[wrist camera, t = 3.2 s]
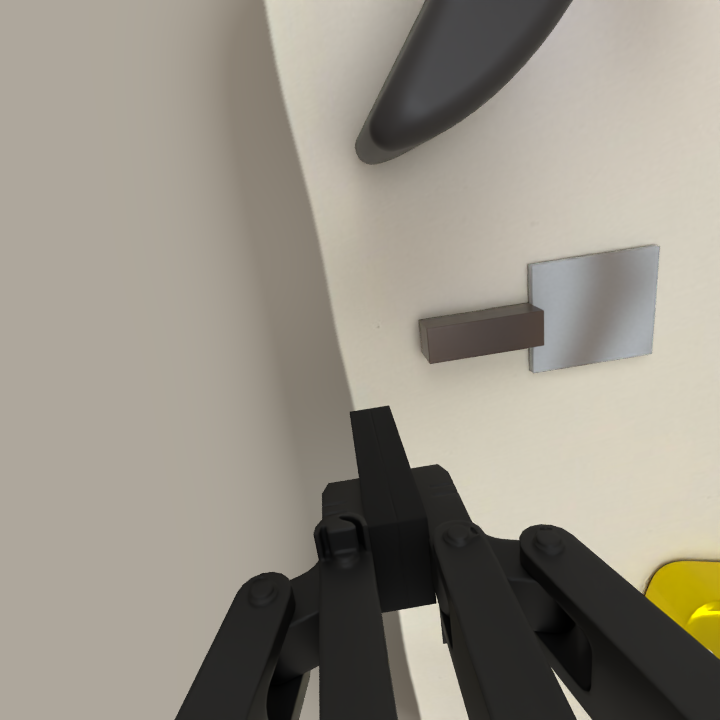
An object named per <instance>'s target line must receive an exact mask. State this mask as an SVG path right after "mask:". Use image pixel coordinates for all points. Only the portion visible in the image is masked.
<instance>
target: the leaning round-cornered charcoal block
mask: <svg viewBox="0 0 720 720" xmlns="http://www.w3.org/2000/svg"><path fill="white" fill-rule="evenodd" d="M572 1H573V0H426V1H425V3H424V5H423V7H422V9H421V11H420V13H419V15H418V17H417V19H416V21H415V23H414V25H413V27H412V29H411V31H410V33H409V35H408V37H407V39H406V41H405V43H404V45H403V47H402V49H401V51H400V53H399V55H398V57H397V59H396V61H395V63H394V65H393V67H392V69H391V71H390V73H389V75H388V77H387V79H386V81H385V83H384V85H383V87H382V89H381V91H380V93H379V95H378V97H377V99H376V101H375V103H374V105H373V107H372V109H371V111H370V113H369V115H368V117H367V119H366V121H365V123H364V125H363V127H362V129H361V131H360V133H359V135H358V137H357V140H356V144H355V149H356V153H357V155H358V157H359V158H360V160H362V161H363V162H364V163H366V164H378V163H382V162H385V161H388V160H391V159H393V158H396V157H398V156H400V155H402V154H404V153H406V152H408V151H409V150H411V149H413V148H415V147H417V146H419V145H420V144H422V143H424V142H426V141H428V140H429V139H431V138H433V137H435V136H437V135H439V134H440V133H442V132H444V131H446V130H447V129H449V128H451V127H452V126H454V125H456V124H457V123H459V122H460V121H462V120H463V119H465V118H466V117H467V116H469V115H470V114H471V113H473V112H474V111H476V110H477V109H478V108H479V107H481V106H482V105H483V104H484V103H486V102H487V101H488V100H489V99H490V98H492V97H493V96H494V95H495V94H496V93H497V92H498V91H499V90H500V89H501V88H502V87H504V86H505V85H506V84H507V83H508V82H509V81H510V80H511V79H512V78H513V76H514V75H515V74H516V73H517V72H518V71H519V70H520V69H521V68H522V67H523V66H524V65H525V64H526V62H527V61H528V60H529V59H530V58H531V57H532V55H533V54H534V53H535V52H536V51H537V50H538V48H539V47H540V46H541V45H542V43H543V42H544V41H545V40H546V38H547V37H548V36H549V34H550V33H551V32H552V30H553V29H554V27H555V26H556V25H557V23H558V22H559V20H560V19H561V17H562V16H563V14H564V13H565V11H566V10H567V8H568V7H569V5H570V4H571V2H572Z"/></svg>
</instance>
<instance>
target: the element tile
mask: <svg viewBox="0 0 720 720" xmlns="http://www.w3.org/2000/svg"><path fill="white" fill-rule="evenodd" d="M645 597H646V598H648V599H649V600H650V601H651V602H652V603H654V604H655V605H656V606H657V607H658V608H659V609H661V610H662V611H663V612H664V613H665V614H667V615H668V616H669V617H670V618H671V619H672V620H674V621H675V622H676V623H677V624H678V625H680V626H681V627H682V628H683V629H684V630H685V631H687V632H688V633H689V634H690V635H691V636H693V637H694V638H695V639H696V640H697V641H698V642H700V643H701V644H702V645H703V646H704V647H706V648H707V649H708V650H709V651H710V652H711V653H713V654H714V655H715V656H716V657H717V658H719V659H720V562H701V561H677V562H673V563H669V564H667V565H665V566H663V567H662V568H660V569H659V570H658V571H657V572H656V574H655V575H654V576H653V578H652V580H651V582H650V584H649V587H648V589H647V592H646V594H645Z"/></svg>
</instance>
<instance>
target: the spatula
mask: <svg viewBox="0 0 720 720" xmlns="http://www.w3.org/2000/svg"><path fill="white" fill-rule="evenodd" d="M659 252H660V246H658V245H650V246H643V247H637V248H630V249H624V250H617V251H611V252H604V253H598V254H591V255H585V256H578V257H572V258H565V259H559V260H552V261H546V262H539V263H533V264H528V287H529V303H523V304H517V305H511V306H504V307H498V308H491V309H485V310H479V311H472V312H466V313H460V314H453V315H447V316H440V317H434V318H428V319H421V320H419V328H420V338H421V348H422V353H423V355H424V356H425V358H426V359H427V360H428V362H429V363H430V364H433V363H439V362H445V361H452V360H458V359H464V358H470V357H476V356H483V355H489V354H495V353H501V352H507V351H514V350H520V349H526V348H530V371H531V372H533V373H538V372H544V371H551V370H557V369H563V368H569V367H575V366H581V365H587V364H593V363H599V362H606V361H612V360H618V359H624V358H630V357H636V356H642V355H648V354H652V346H653V332H654V319H655V305H656V292H657V279H658V265H659Z"/></svg>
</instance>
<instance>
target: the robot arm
mask: <svg viewBox="0 0 720 720" xmlns="http://www.w3.org/2000/svg"><path fill="white" fill-rule="evenodd" d="M350 418H351V425H352V432H353V439H354V446H355V453H356V459H357V466H358V474H359V478H358V479H352V480H347V481H340V482H334V483H329V484H328V485H327V487H326V488H325V490H324V492H323V493H322V520H321V521H320V523H319V524H318V525H317V526H316V527H315V531H314V539H315V543H316V549H317V553H318V558H319V561H318V562H317V563H316V565H315V566H314V567H313V568H311V569H310V570H309V571H308V572H306V573H304V574H302V575H300V576H298V577H296V578H294V579H292V580H289V579H288V578H287V577H286V576H284V575H283V574H281V573H275V572H269V573H262V574H260V575H257V576H255V577H253V578H251V579H250V580H249V581H247V582H246V583H245V584H243V585H242V587H241V588H240V590H239V591H238V592H237V594H236V596H235V598H234V600H233V602H232V604H231V606H230V608H229V610H228V613H227V614H226V617H225V619H224V621H223V623H222V625H221V627H220V629H219V631H218V633H217V635H216V637H215V639H214V641H213V643H212V645H211V647H210V649H209V651H208V653H207V655H206V657H205V659H204V661H203V663H202V665H201V667H200V669H199V672H198V674H197V675H196V678H195V680H194V682H193V684H192V686H191V688H190V690H189V692H188V694H187V696H186V698H185V700H184V702H183V704H182V706H181V708H180V710H179V712H178V714H177V716H176V718H175V720H299V717H300V713H301V709H302V705H303V702H304V698H305V694H306V690H307V686H308V682H309V678H310V670H312V669H313V668H315V667H317V666H319V673H320V674H319V678H320V679H319V681H320V682H319V693H320V694H319V698H320V699H319V702H320V704H319V706H320V720H398V717H397V710H396V704H395V697H394V691H393V685H392V678H391V671H390V665H389V658H388V652H387V645H386V639H385V632H384V626H383V620H382V614H381V613H383V612H390V611H396V610H401V609H407V608H413V607H419V606H424V605H430V604H436V596H437V599H438V603H439V608H440V618H441V627H442V637H443V644H445V643H447V644H448V648H449V651H450V655H451V658H452V662H453V665H454V669H455V672H456V676H457V679H458V683H459V686H460V690H461V693H462V697H463V700H464V704H465V707H466V711H467V714H468V718H469V720H577V719H576V717H575V715H574V713H573V711H572V709H571V707H570V705H569V703H568V701H567V699H566V697H565V695H564V693H563V691H562V689H561V687H560V685H559V683H558V681H557V679H556V677H555V675H554V673H553V671H552V669H553V670H554V671H555V673H556V674H557V675H558V677H559V678H560V679H561V680H562V682H563V683H564V684H565V686H566V687H567V688H568V689H569V691H570V692H571V693H572V694H573V696H574V697H575V698H576V700H577V701H578V702H579V703H580V705H581V706H582V707H583V708H584V710H585V711H586V712H587V714H588V715H589V716H590V717H591V719H592V720H720V659H719V658H717V657H716V656H715V655H714V654H713V653H711V652H710V651H709V650H708V649H707V648H706V647H704V646H703V645H702V644H701V643H700V642H698V641H697V640H696V639H695V638H694V637H693V636H691V635H690V634H689V633H688V632H687V631H685V630H684V629H683V628H682V627H681V626H680V625H678V624H677V623H676V622H675V621H674V620H672V619H671V618H670V617H669V616H668V615H667V614H665V613H664V612H663V611H662V610H661V609H659V608H658V607H657V606H656V605H655V604H654V603H652V602H651V601H650V600H649V599H648V598H646V597H645V596H644V595H643V594H642V593H641V592H639V591H638V590H637V589H636V588H635V587H633V586H632V585H631V584H630V583H629V582H628V581H626V580H625V579H624V578H623V577H622V576H620V575H619V574H618V573H617V572H616V571H615V570H613V569H612V568H611V567H610V566H609V565H607V564H606V563H605V562H604V561H603V560H602V559H600V558H599V557H598V556H597V555H596V554H594V553H593V552H592V551H591V550H590V549H589V548H587V547H586V546H585V545H584V544H583V543H581V542H580V541H579V540H578V539H577V538H576V537H574V536H573V535H572V534H571V533H569V532H567V531H566V530H564V529H562V528H559V527H556V526H553V525H542V524H540V525H535V526H530V527H529V528H527V529H525V530H524V531H523V532H522V534H521V535H520V537H519V540H508V539H499V538H494V537H491V536H488V535H486V534H485V533H484V532H483V530H482V529H481V528H480V527H479V526H478V525H476V524H474V523H472V521H471V519H470V517H469V515H468V512H467V510H466V508H465V506H464V504H463V502H462V500H461V498H460V496H459V494H458V492H457V489H456V487H455V485H454V484H453V481H452V479H451V477H450V475H449V473H448V471H446V470H445V469H443V468H442V467H441V466H439V465H438V464H436V465H430V466H423V467H417V468H410V465H409V462H408V459H407V456H406V453H405V450H404V448H403V445H402V442H401V439H400V436H399V433H398V430H397V427H396V424H395V421H394V418H393V415H392V412H391V410H390V407H389V406H383V407H377V408H371V409H365V410H358V411H352V412H350ZM550 666H551V667H550ZM551 668H552V669H551Z"/></svg>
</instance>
